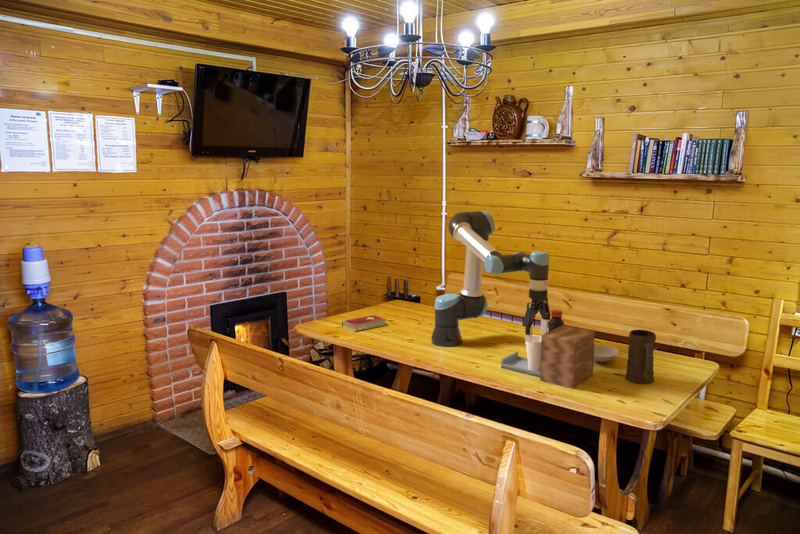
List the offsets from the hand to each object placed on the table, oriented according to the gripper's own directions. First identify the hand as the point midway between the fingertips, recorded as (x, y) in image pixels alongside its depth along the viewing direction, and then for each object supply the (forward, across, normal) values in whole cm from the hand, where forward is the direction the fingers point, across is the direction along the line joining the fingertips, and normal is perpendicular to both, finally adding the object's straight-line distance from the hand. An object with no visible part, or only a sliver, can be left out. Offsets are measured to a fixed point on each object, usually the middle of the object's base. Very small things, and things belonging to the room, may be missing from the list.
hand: (536, 338), depth 243 cm
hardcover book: (+17, +3, +104) cm, 106 cm away
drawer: (+14, 0, +2) cm, 14 cm away
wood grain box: (+14, 0, -15) cm, 20 cm away
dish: (+14, +28, -18) cm, 36 cm away
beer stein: (+14, +15, -40) cm, 45 cm away
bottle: (+15, +26, +3) cm, 30 cm away
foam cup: (+13, 0, -1) cm, 13 cm away
